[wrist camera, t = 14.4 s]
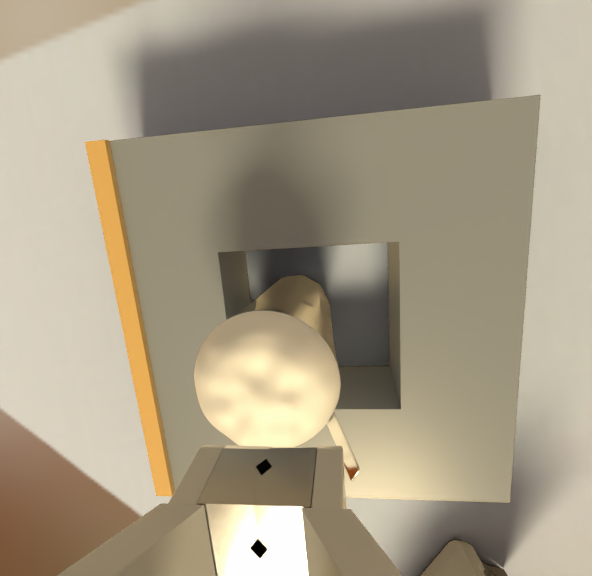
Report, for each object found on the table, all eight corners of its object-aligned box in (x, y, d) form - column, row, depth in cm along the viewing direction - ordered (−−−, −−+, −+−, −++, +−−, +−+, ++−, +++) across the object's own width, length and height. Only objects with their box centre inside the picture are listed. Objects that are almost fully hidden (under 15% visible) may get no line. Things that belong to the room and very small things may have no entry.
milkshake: (328, 368, 20) (314, 534, 10) (239, 320, 20) (141, 443, 10) (372, 296, 19) (403, 410, 9) (277, 245, 19) (206, 305, 9)
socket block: (493, 117, 16) (545, 92, 12) (477, 442, 20) (512, 508, 16) (143, 152, 18) (85, 141, 14) (191, 438, 22) (156, 495, 18)
